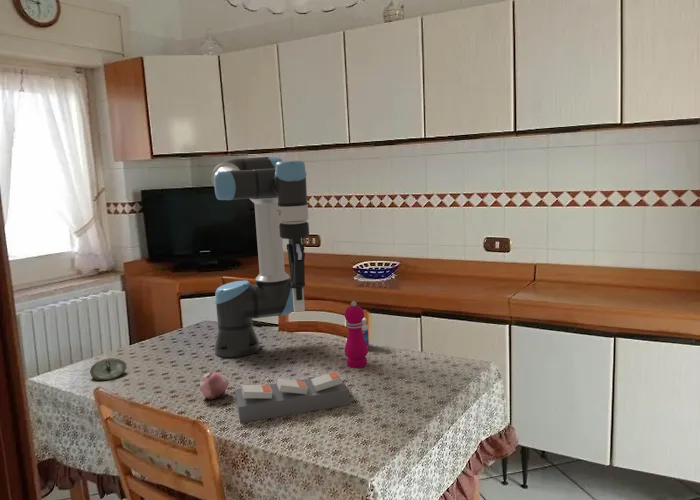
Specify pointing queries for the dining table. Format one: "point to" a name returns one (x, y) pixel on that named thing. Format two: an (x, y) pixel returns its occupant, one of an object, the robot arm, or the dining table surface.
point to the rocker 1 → (256, 391)
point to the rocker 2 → (292, 386)
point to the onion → (214, 385)
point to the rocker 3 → (326, 381)
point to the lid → (108, 369)
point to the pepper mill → (355, 337)
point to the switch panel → (291, 402)
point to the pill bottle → (365, 332)
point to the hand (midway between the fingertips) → (299, 310)
